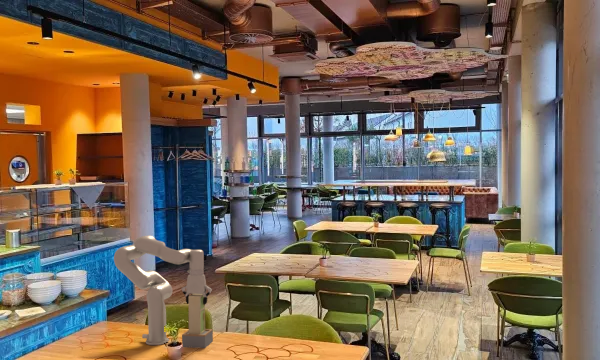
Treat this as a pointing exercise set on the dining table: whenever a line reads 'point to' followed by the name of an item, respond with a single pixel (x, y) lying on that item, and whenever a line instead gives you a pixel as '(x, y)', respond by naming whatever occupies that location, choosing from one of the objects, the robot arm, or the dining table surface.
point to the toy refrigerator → (196, 314)
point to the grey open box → (197, 339)
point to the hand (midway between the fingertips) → (196, 303)
